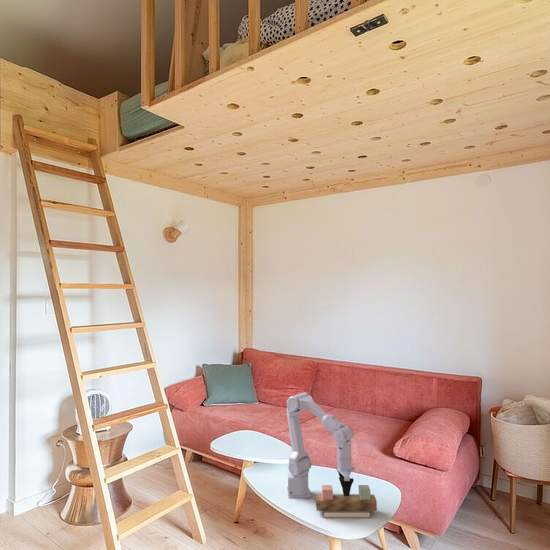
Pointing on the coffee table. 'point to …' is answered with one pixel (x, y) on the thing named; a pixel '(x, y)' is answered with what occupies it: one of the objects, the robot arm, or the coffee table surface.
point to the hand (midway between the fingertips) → (345, 490)
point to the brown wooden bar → (346, 503)
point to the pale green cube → (364, 492)
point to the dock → (346, 513)
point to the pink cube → (327, 492)
